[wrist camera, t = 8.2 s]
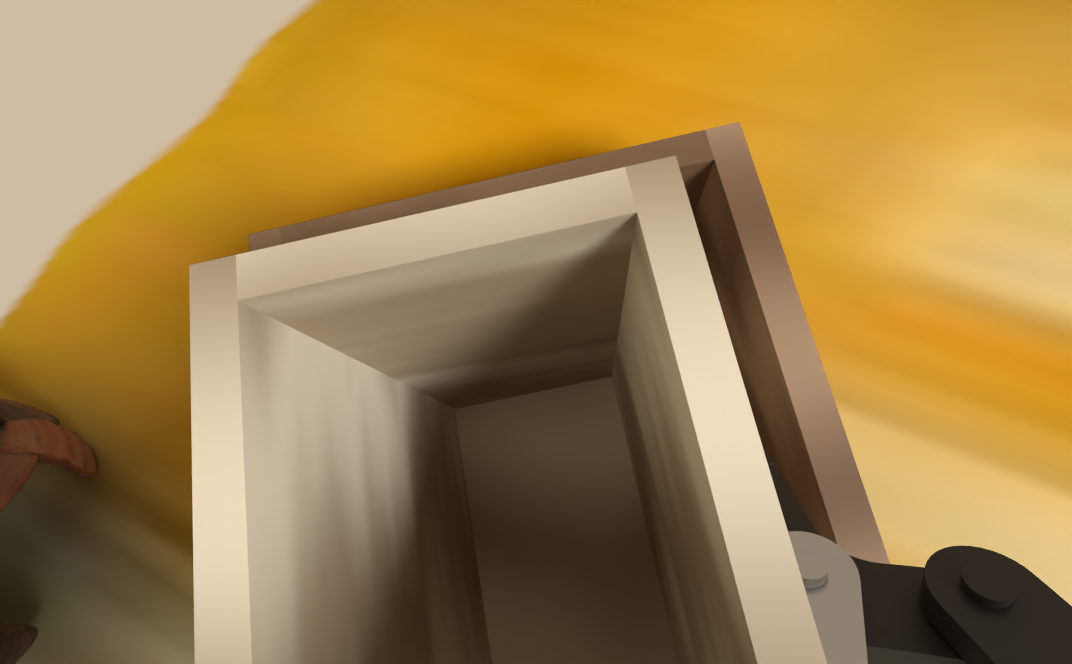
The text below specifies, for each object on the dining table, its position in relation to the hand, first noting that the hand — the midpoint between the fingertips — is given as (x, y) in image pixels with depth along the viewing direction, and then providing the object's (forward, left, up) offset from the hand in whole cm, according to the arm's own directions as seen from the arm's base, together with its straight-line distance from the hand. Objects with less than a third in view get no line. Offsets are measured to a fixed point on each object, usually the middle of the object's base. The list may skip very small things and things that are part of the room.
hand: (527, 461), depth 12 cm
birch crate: (+1, +2, -5) cm, 5 cm away
